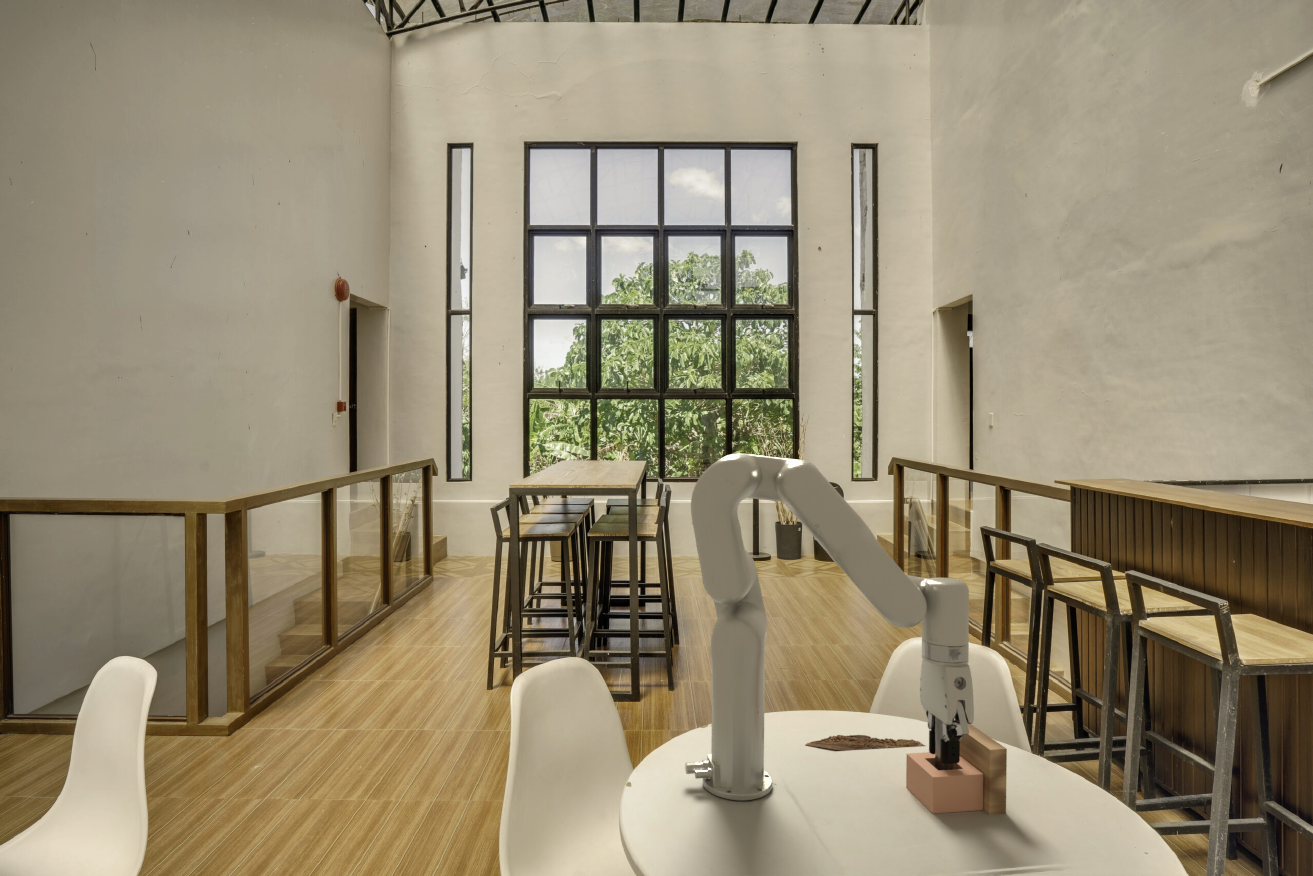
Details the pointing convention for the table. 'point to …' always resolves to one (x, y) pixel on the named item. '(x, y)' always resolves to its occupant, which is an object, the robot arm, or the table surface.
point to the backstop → (987, 767)
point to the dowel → (938, 737)
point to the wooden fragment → (862, 743)
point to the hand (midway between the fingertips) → (944, 757)
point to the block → (944, 784)
